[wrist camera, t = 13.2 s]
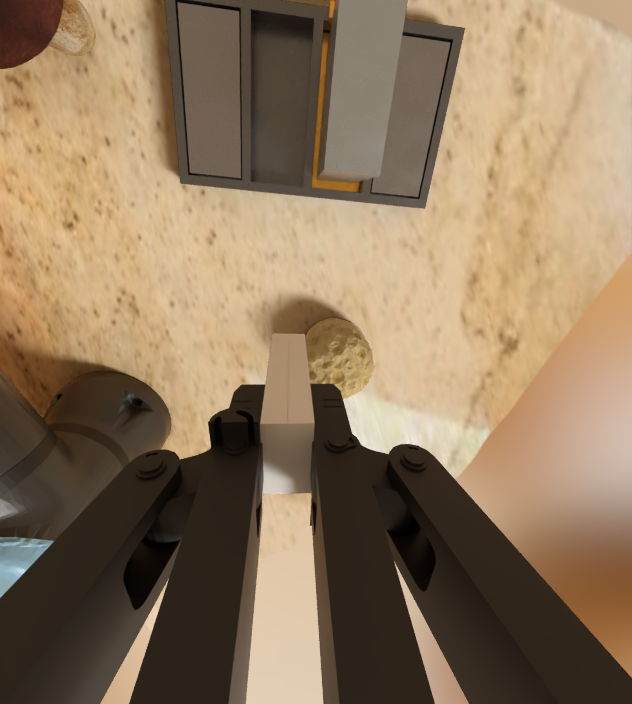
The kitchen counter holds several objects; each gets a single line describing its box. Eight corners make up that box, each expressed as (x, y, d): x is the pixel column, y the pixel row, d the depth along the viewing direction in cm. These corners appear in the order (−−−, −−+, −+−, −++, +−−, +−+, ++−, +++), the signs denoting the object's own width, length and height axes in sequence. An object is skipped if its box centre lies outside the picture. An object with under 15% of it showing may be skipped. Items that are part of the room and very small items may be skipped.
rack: (188, 184, 33) (177, 182, 30) (174, -2, 27) (158, -27, 24) (416, 207, 35) (427, 208, 32) (452, 39, 29) (469, 21, 26)
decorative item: (312, 309, 44) (267, 348, 37) (376, 304, 37) (335, 350, 31) (333, 365, 48) (295, 409, 41) (393, 369, 42) (360, 421, 35)
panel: (316, 179, 33) (323, 169, 22) (327, 46, 28) (343, -48, 17) (354, 183, 33) (379, 175, 22) (370, 52, 28) (413, -36, 18)
